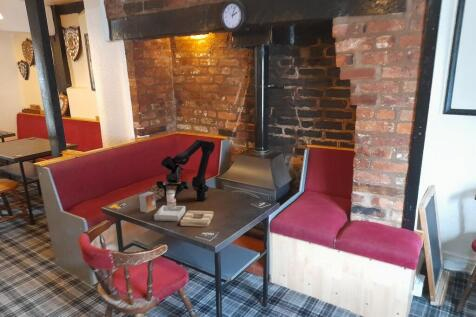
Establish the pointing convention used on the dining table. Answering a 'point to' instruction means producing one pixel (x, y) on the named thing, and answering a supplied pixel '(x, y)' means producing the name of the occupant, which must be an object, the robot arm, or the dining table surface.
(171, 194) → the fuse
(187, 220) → the socket block
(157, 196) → the pine cone
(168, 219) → the tray
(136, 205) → the dining table surface
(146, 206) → the small box
